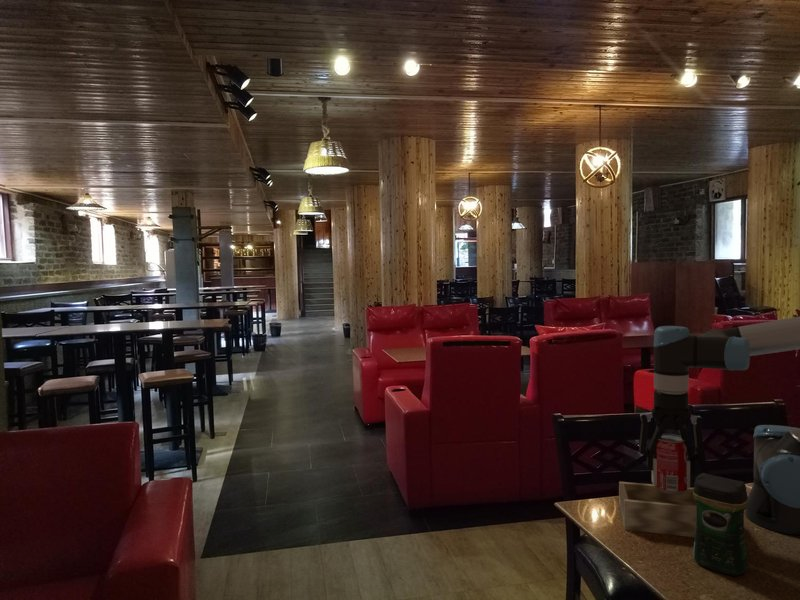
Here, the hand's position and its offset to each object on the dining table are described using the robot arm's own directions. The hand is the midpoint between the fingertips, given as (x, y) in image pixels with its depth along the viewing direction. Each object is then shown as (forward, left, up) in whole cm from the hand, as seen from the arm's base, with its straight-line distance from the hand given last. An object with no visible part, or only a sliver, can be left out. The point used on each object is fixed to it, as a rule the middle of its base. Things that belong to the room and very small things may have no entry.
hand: (670, 484), depth 129 cm
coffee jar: (-6, +17, -10) cm, 21 cm away
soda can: (0, 0, -2) cm, 2 cm away
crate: (0, 0, -10) cm, 10 cm away
